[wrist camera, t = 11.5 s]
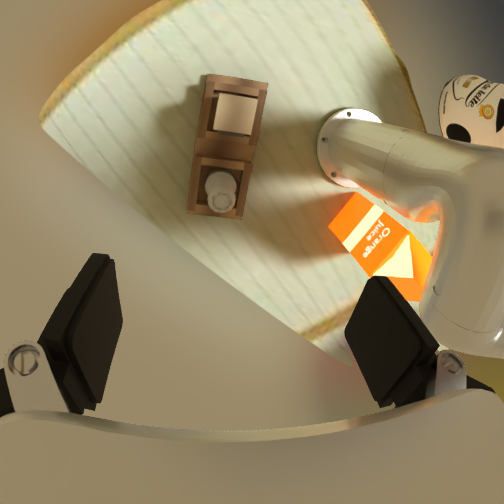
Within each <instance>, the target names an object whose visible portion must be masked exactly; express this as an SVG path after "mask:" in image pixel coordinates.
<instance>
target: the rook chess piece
mask: <svg viewBox="0 0 504 504" xmlns="http://www.w3.org/2000/svg"><path fill="white" fill-rule="evenodd" d="M204 185H205V191H206V193H207V195H208V199H207V200H208V205H209V206H210V208H211V209H212V210H214V211H215V212H219V213H224V212H227V211H229V210H231V209H232V208H233V206H234V205H235V201H236V198H235V194H234V193H235V191H236V188H237V183H236V178H235V177H234V175H233V174H232V173H231V172H230V171H228V170H225V169H217V170H214V171H212V172H210V173H209V174H208V176H207V177H206V179H205V183H204Z"/></svg>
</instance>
